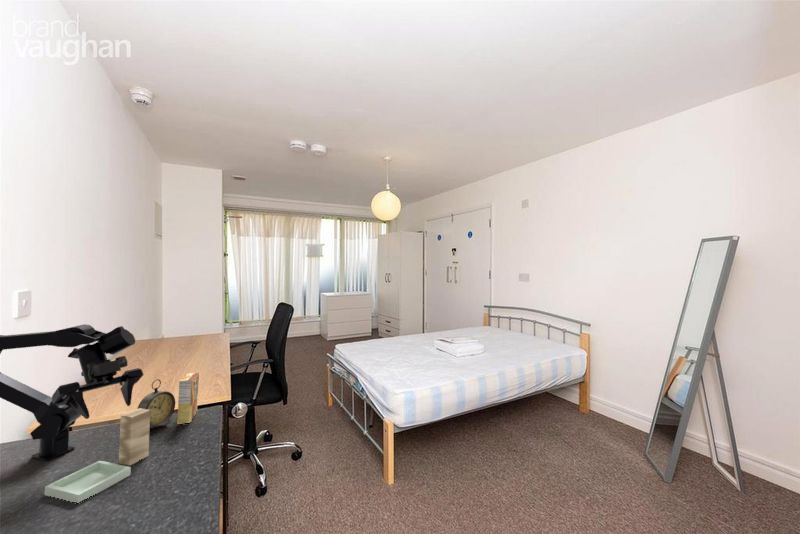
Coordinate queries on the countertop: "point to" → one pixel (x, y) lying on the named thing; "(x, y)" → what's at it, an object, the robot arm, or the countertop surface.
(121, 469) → the green tray
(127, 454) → the beech block
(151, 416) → the alarm clock
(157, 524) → the countertop surface
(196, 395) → the candy box
